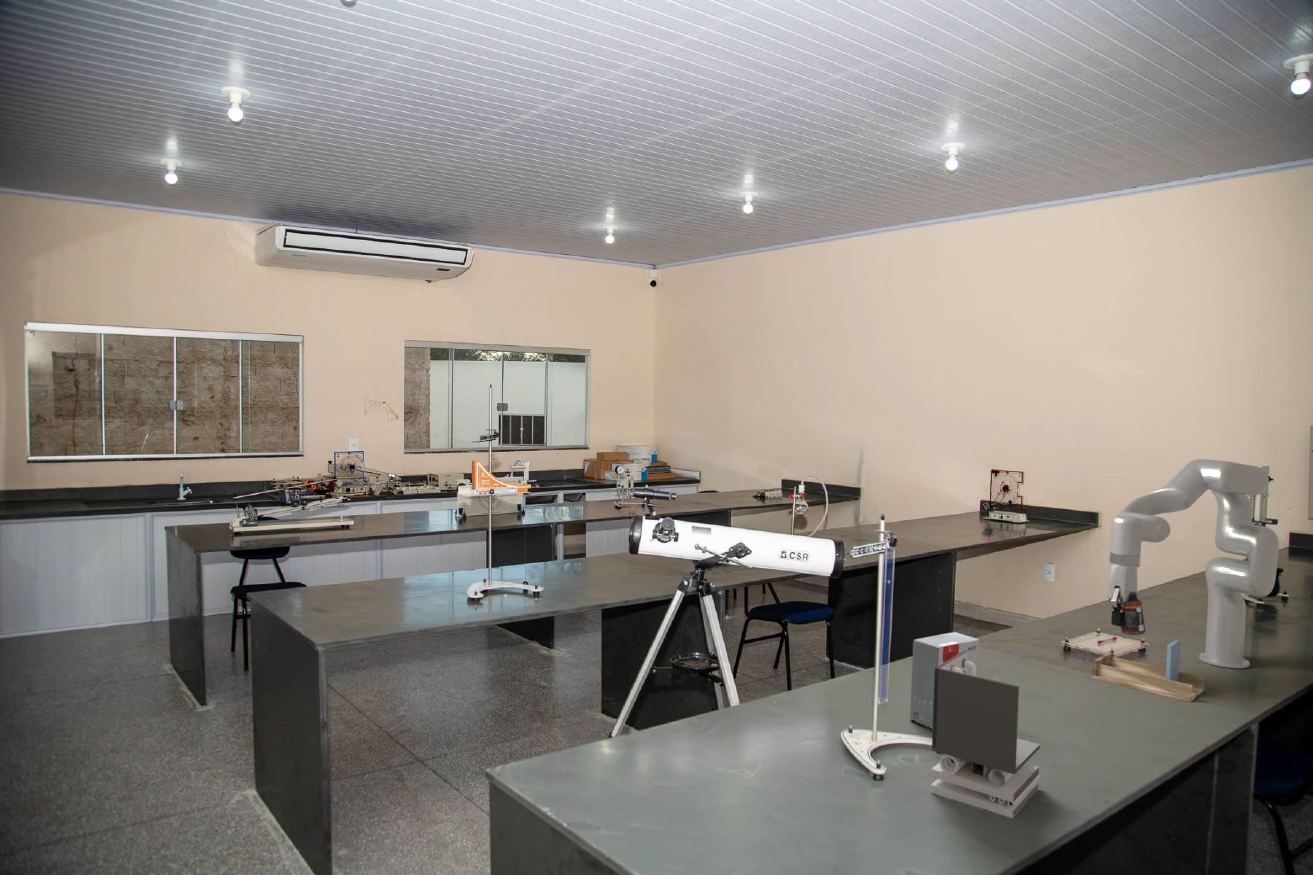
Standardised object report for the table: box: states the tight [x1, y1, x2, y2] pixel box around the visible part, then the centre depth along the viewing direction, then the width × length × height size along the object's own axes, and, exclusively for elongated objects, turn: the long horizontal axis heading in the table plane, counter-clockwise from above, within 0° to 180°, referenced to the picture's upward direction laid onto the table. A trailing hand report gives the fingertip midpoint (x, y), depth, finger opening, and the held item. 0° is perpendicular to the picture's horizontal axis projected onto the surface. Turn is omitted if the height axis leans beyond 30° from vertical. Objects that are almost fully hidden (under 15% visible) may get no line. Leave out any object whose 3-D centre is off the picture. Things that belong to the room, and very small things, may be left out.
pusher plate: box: [1165, 639, 1181, 682], centre depth 227 cm, size 8×1×12 cm, turn 133°
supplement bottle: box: [1119, 592, 1146, 636], centre depth 234 cm, size 6×6×11 cm
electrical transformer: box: [930, 651, 1041, 818], centre depth 168 cm, size 16×19×25 cm
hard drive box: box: [909, 631, 980, 730], centre depth 204 cm, size 16×8×20 cm, turn 122°
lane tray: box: [1091, 651, 1205, 703], centre depth 232 cm, size 13×24×5 cm, turn 43°
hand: (1121, 622), depth 236 cm, fingers closed on supplement bottle, 5 cm apart
